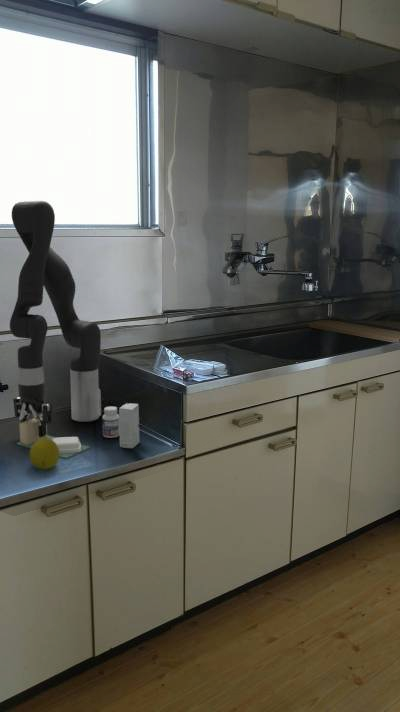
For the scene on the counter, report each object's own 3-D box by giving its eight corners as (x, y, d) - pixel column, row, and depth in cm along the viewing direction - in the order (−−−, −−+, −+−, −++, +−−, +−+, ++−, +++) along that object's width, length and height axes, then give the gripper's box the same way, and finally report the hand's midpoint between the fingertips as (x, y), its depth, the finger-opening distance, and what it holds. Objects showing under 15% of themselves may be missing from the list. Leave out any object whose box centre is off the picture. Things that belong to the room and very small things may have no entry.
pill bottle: (105, 431, 190) (105, 405, 188) (121, 432, 189) (121, 406, 187) (100, 437, 185) (99, 410, 183) (116, 438, 184) (116, 411, 182)
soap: (80, 443, 179) (80, 434, 178) (81, 452, 172) (81, 442, 171) (49, 445, 176) (49, 436, 176) (49, 454, 170) (48, 444, 169)
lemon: (57, 475, 157) (56, 446, 155) (26, 475, 157) (25, 447, 155) (62, 459, 168) (61, 432, 166) (34, 459, 167) (33, 432, 165)
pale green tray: (41, 434, 186) (40, 415, 185) (90, 448, 176) (89, 427, 175) (16, 444, 178) (15, 424, 177) (65, 459, 168) (65, 437, 166)
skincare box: (133, 448, 176) (132, 409, 174) (118, 447, 177) (118, 408, 175) (140, 441, 182) (139, 403, 179) (126, 440, 183) (125, 402, 180)
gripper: (58, 381, 176) (59, 435, 180) (24, 374, 184) (26, 426, 187) (39, 387, 170) (41, 442, 174) (4, 379, 178) (7, 432, 181)
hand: (33, 433), depth 181 cm, fingers open, 6 cm apart
